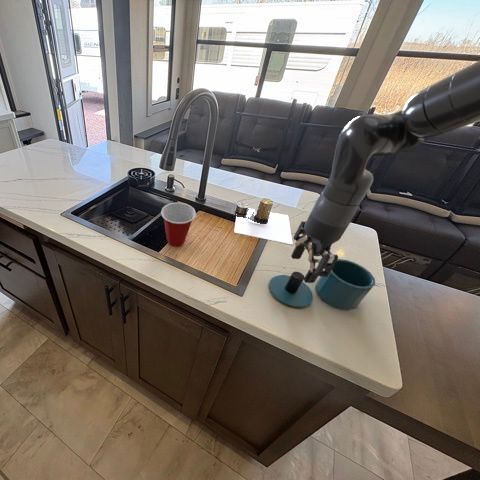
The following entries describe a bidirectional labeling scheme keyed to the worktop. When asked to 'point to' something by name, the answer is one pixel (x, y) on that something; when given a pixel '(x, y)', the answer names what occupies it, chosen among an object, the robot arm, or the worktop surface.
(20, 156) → the worktop surface
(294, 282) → the lid
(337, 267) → the canister
